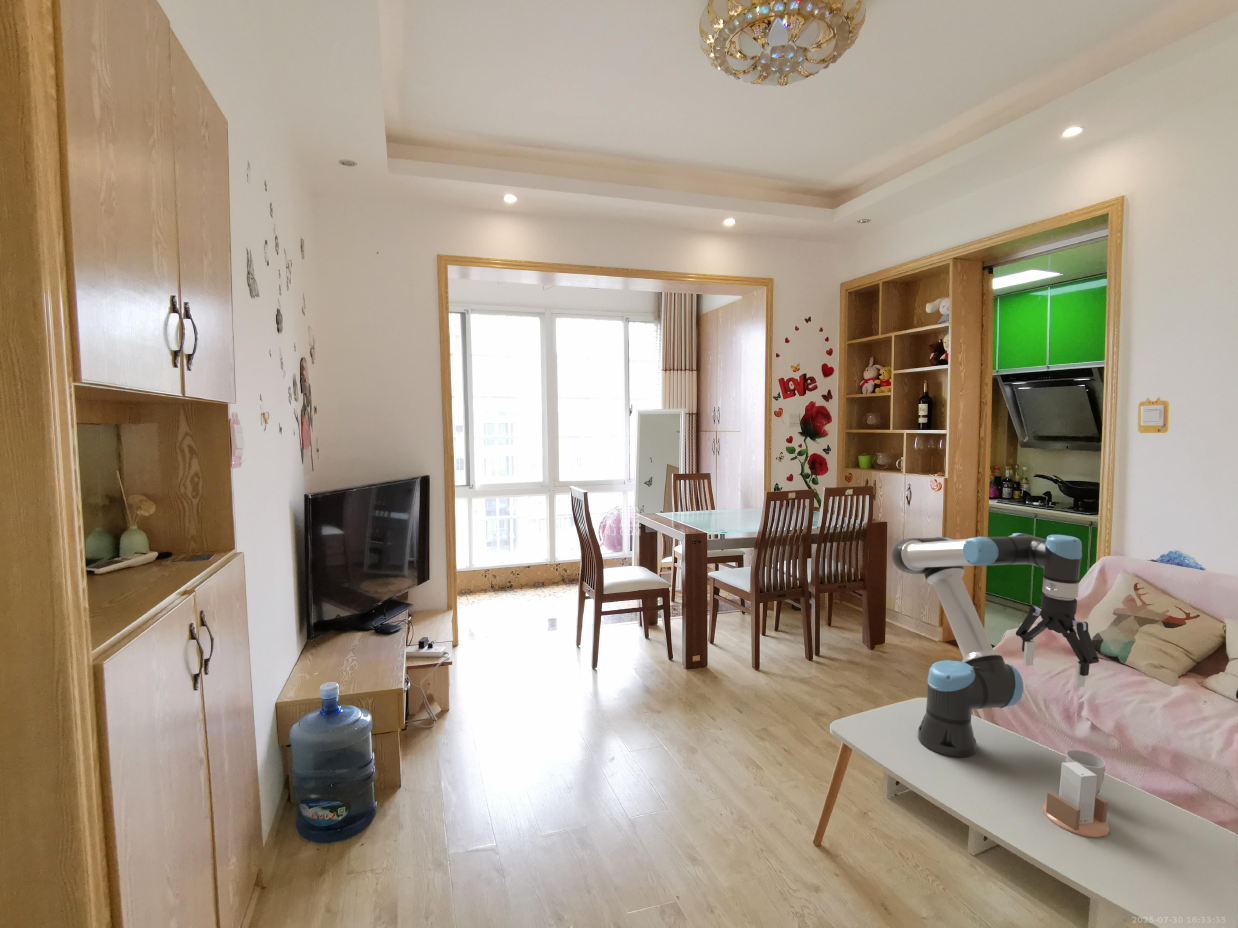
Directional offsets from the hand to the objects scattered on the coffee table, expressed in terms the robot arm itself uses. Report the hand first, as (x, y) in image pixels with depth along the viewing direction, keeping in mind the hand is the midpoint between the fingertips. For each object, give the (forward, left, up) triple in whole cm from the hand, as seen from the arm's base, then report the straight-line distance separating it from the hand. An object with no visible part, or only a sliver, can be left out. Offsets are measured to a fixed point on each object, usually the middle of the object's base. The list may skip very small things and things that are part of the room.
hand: (1052, 675), depth 164 cm
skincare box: (+14, -8, -28) cm, 32 cm away
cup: (+8, +3, -29) cm, 30 cm away
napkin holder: (+14, -8, -29) cm, 33 cm away
